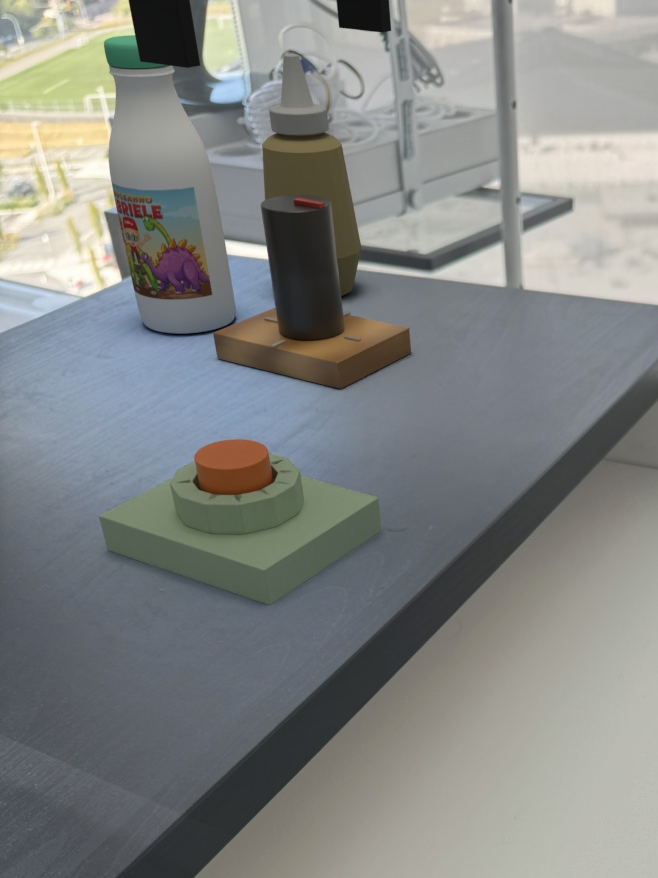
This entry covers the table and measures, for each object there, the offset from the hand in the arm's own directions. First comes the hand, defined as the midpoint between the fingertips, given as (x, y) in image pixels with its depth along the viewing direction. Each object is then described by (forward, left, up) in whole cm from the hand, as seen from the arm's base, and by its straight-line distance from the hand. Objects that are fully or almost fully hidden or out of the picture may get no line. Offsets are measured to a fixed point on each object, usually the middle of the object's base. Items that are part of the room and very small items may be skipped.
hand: (276, 46), depth 54 cm
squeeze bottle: (-29, +35, -25) cm, 51 cm away
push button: (-3, -4, -21) cm, 21 cm away
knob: (-19, +22, -22) cm, 36 cm away
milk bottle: (-33, +23, -25) cm, 47 cm away
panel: (-19, +22, -24) cm, 38 cm away
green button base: (-3, -4, -24) cm, 25 cm away
